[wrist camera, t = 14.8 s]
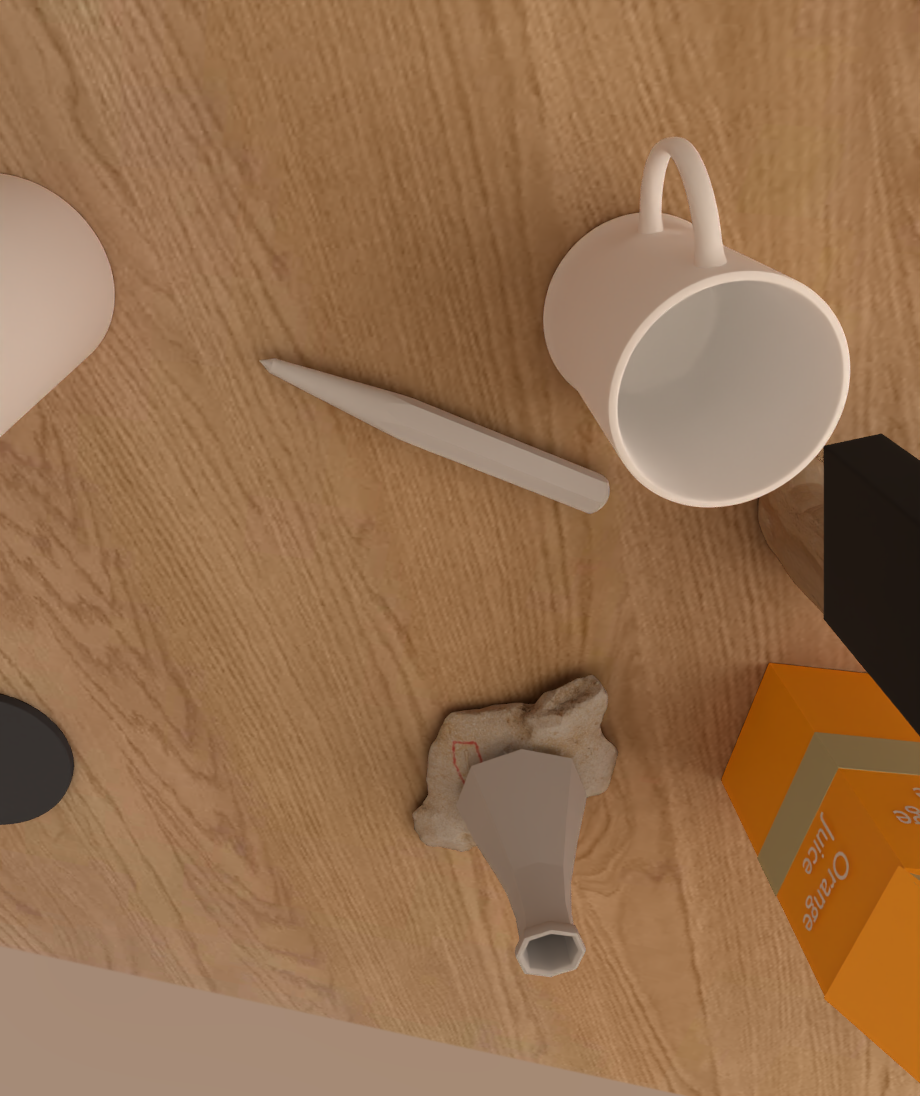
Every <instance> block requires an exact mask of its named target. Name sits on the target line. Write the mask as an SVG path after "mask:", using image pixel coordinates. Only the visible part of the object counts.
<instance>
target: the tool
mask: <svg viewBox="0 0 920 1096" xmlns="http://www.w3.org/2000/svg"><path fill="white" fill-rule="evenodd" d="M259 361H260V362H261V363H262V364H263V366H264V367H265V368H266V369H267V370H268V372H269V373H271V374H273V375H275V376H277V377H279V378H281V379H283V380H284V381H286V382H288V383H290V384H292V385H294V386H296V387H298V388H300V389H302V390H304V391H306V392H308V393H310V394H311V395H313V396H315V397H317V398H319V399H321V400H323V401H325V402H327V403H329V404H331V405H333V406H335V407H337V408H339V409H340V410H342V411H344V412H346V413H348V414H350V415H352V416H354V417H356V418H358V419H360V420H362V421H364V422H366V423H368V424H369V425H371V426H373V427H375V428H377V429H379V430H381V431H383V432H385V433H387V434H389V435H391V436H393V437H395V438H397V439H399V440H402V441H404V442H407V443H409V444H412V445H415V446H417V447H420V448H422V449H425V450H427V451H430V452H433V453H435V454H438V455H440V456H443V457H445V458H448V459H450V460H453V461H456V462H458V463H461V464H463V465H466V466H468V467H471V468H473V469H476V470H479V471H481V472H484V473H486V474H489V475H491V476H494V477H497V478H499V479H502V480H504V481H507V482H509V483H512V484H514V485H517V486H520V487H522V488H525V489H527V490H530V491H532V492H535V493H537V494H540V495H543V496H545V497H548V498H550V499H553V500H555V501H558V502H561V503H563V504H566V505H568V506H571V507H573V508H576V509H578V510H581V511H584V512H586V513H589V514H591V513H594V512H596V511H598V510H599V509H601V508H602V507H603V506H604V505H605V503H606V502H607V500H608V497H609V492H610V487H609V482H608V480H607V479H606V478H605V477H604V476H603V475H601V474H599V473H596V472H594V471H591V470H589V469H586V468H584V467H582V466H579V465H577V464H574V463H572V462H569V461H567V460H564V459H562V458H559V457H557V456H554V455H552V454H549V453H547V452H544V451H542V450H540V449H537V448H535V447H532V446H530V445H527V444H525V443H522V442H520V441H517V440H515V439H512V438H510V437H507V436H505V435H503V434H500V433H498V432H495V431H493V430H490V429H488V428H485V427H483V426H480V425H478V424H475V423H473V422H470V421H468V420H465V419H463V418H461V417H458V416H456V415H453V414H451V413H448V412H446V411H443V410H441V409H438V408H436V407H433V406H431V405H428V404H426V403H424V402H421V401H419V400H416V399H414V398H410V397H407V396H404V395H401V394H398V393H394V392H391V391H387V390H384V389H380V388H377V387H374V386H370V385H367V384H363V383H360V382H356V381H353V380H349V379H346V378H342V377H339V376H335V375H332V374H328V373H325V372H321V371H318V370H314V369H311V368H307V367H304V366H300V365H297V364H293V363H290V362H286V361H283V360H279V359H276V358H272V359H265V360H259Z"/></svg>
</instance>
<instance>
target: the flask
mask: <svg viewBox="0 0 920 1096" xmlns="http://www.w3.org/2000/svg"><path fill="white" fill-rule="evenodd" d="M586 797H587V794H586V792H585V789H584V787H583V784H582V782H581V780H580V777H579V775H578V772H577V770H576V767H575V765H574V762H573V760H572V758H567V757H562V756H556V755H551V754H545V753H540V752H535V751H529V750H524V749H520V750H518V751H515V752H512V753H509V754H506V755H503V756H500V757H497V758H494V759H491V760H488V761H485V762H482V763H479V764H476V765H473V766H471V768H470V770H469V773H468V776H467V778H466V781H465V783H464V786H463V789H462V791H461V794H460V796H459V799H458V802H457V804H456V806H457V808H458V810H459V812H460V814H461V816H462V818H463V820H464V822H465V824H466V826H467V828H468V830H469V832H470V834H471V836H472V838H473V839H474V841H475V843H476V845H477V846H478V848H479V850H480V851H481V853H482V854H483V856H484V857H485V859H486V861H487V862H488V864H489V865H490V867H491V868H492V870H493V871H494V873H495V874H496V876H497V878H498V880H499V881H500V883H501V885H502V886H503V888H504V890H505V892H506V893H507V896H508V898H509V901H510V904H511V907H512V909H513V912H514V915H515V917H516V922H517V928H518V933H519V942H518V944H517V946H516V948H515V955H516V958H517V960H518V962H519V964H520V966H521V968H522V970H523V971H524V973H525V974H531V975H539V976H547V977H552V976H555V975H558V974H562V973H565V972H568V971H571V970H575V969H577V967H578V965H579V963H580V961H581V959H582V957H583V955H584V953H585V951H586V949H585V945H584V943H583V941H582V939H581V937H580V934H579V932H578V930H577V928H576V926H575V925H574V924H573V919H572V914H571V879H572V873H573V867H574V861H575V854H576V848H577V842H578V837H579V832H580V828H581V823H582V818H583V813H584V809H585V803H586Z"/></svg>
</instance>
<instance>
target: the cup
mask: <svg viewBox="0 0 920 1096" xmlns="http://www.w3.org/2000/svg"><path fill="white" fill-rule="evenodd" d="M114 302H115V289H114V280H113V275H112V271H111V267H110V264H109V261H108V258H107V255H106V253H105V251H104V248H103V246H102V245H101V243H100V241H99V239H98V237H97V236H96V234H95V233H94V231H93V230H92V228H91V227H90V226H89V225H88V223H87V222H86V221H85V220H84V218H83V217H82V216H81V215H80V214H79V213H78V212H77V211H76V210H75V209H74V208H73V207H72V206H70V205H69V204H68V203H67V202H66V201H64V200H63V199H62V198H61V197H59V196H58V195H56V194H55V193H53V192H51V191H50V190H48V189H46V188H44V187H43V186H41V185H39V184H36V183H34V182H32V181H29V180H26V179H23V178H20V177H16V176H12V175H8V174H0V437H1V436H2V435H3V434H4V433H5V432H6V431H7V430H8V429H10V428H11V427H12V426H13V425H14V424H15V423H16V422H17V421H18V420H19V419H20V418H22V417H23V416H24V415H25V414H26V413H27V412H28V411H29V410H30V409H31V408H32V407H34V406H35V405H36V404H37V403H38V402H39V401H40V400H41V399H42V398H43V397H44V396H46V395H47V394H48V393H49V392H50V391H51V390H52V389H53V388H54V387H55V386H56V385H58V384H59V383H60V382H61V381H62V380H63V379H64V378H65V377H66V376H67V375H68V374H70V373H71V372H72V371H73V370H74V369H75V368H76V367H77V366H78V365H79V364H80V363H82V362H83V361H84V360H85V359H86V358H87V357H88V356H89V355H90V354H91V353H92V352H93V351H94V350H95V349H96V348H97V347H98V345H99V344H100V343H101V341H102V340H103V338H104V336H105V334H106V333H107V330H108V328H109V325H110V323H111V319H112V316H113V310H114Z"/></svg>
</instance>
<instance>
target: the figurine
mask: <svg viewBox="0 0 920 1096" xmlns="http://www.w3.org/2000/svg"><path fill="white" fill-rule="evenodd" d="M758 521H759V524H760V528H761V531H762V533H763V535H764V537H765V539H766V541H767V543H768V545H769V547H770V549H771V550H772V551H773V552H774V553H775V555H776V556H777V557H778V559H779V561H780V562H781V564H782V566H783V567H784V569H785V570H786V572H787V574H788V575H789V576H790V578H791V579H792V580H793V582H794V583H795V584H796V585H797V586H798V587H799V588H800V589H801V590H802V592H803V593H804V594H805V595H806V596H807V597H808V598H809V599H810V600H811V601H812V602H813V603H814V604H815V605H816V606H817V607H818V608H819V609H820V611H821V612H822V613H823V614H824V464H823V463H822V462H821V461H819V460H818V459H816V458H814V459H813V460H812V461H811V462H810V463H809V464H808V465H807V466H806V467H805V468H804V469H803V470H802V471H801V472H799V473H798V474H797V475H796V476H794V477H793V478H792V479H791V480H789V481H788V482H786V483H785V484H783V485H782V486H780V487H778V488H777V489H775V490H773V491H771V492H769V493H767V494H765V495H763V496H761V497H760V499H759V503H758Z"/></svg>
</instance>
